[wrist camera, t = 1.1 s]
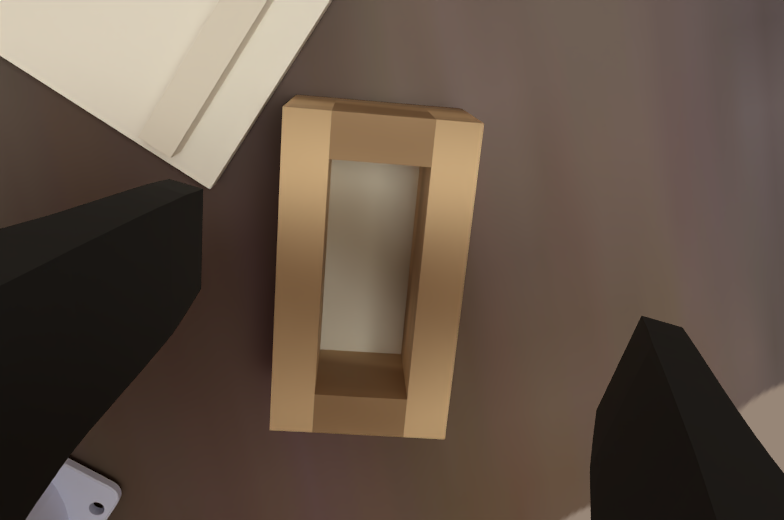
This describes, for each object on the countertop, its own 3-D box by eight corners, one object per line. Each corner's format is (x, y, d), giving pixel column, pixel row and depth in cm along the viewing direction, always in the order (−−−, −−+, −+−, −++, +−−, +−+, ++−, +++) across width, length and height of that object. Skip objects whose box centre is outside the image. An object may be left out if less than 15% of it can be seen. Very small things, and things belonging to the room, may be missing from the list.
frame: (431, 375, 24) (444, 439, 20) (284, 366, 24) (269, 430, 20) (461, 108, 21) (484, 123, 17) (296, 94, 21) (282, 106, 17)
